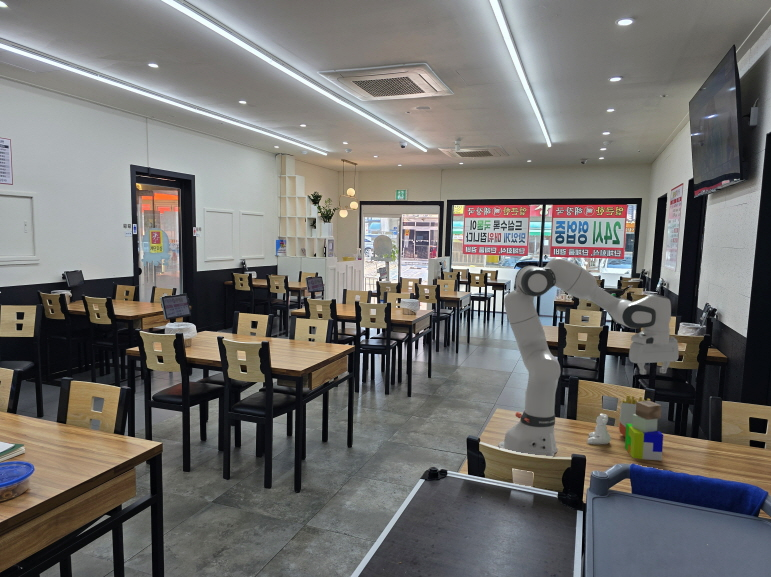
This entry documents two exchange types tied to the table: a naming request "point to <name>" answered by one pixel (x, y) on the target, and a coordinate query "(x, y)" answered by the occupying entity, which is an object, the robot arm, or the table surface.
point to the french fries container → (627, 412)
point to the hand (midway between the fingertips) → (652, 373)
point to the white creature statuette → (600, 432)
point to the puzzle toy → (644, 443)
